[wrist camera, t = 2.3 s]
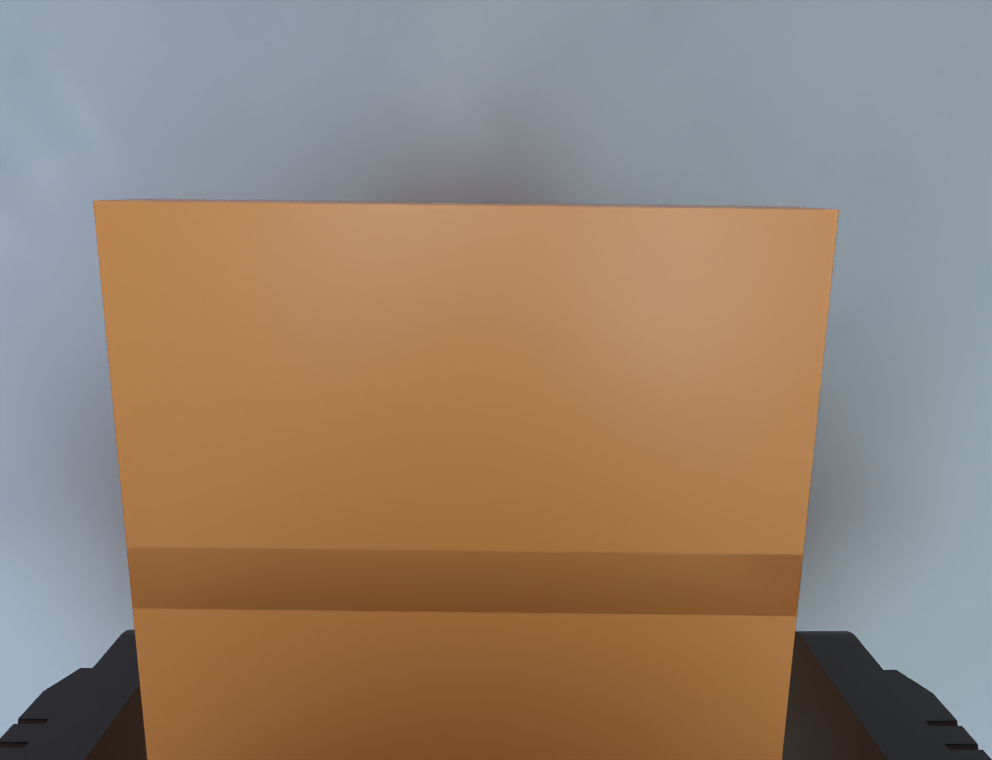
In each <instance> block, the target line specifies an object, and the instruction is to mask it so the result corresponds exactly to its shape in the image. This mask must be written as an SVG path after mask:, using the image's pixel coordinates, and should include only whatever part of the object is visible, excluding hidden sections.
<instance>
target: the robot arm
mask: <svg viewBox="0 0 992 760" xmlns="http://www.w3.org/2000/svg"><path fill="white" fill-rule="evenodd" d="M0 760H147V752H146V741H145V731H144V721H143V710H142V700H141V690H140V679H139V669H138V659H137V648H136V638H135V630H127V631H125V632H124V633H123V634H121V636H120V637H119V638H118V639H117V640H116V641H115V643H114V644H113V645H112V646H111V647H110V648H109V650H108V651H107V652H106V653H105V654H104V655H103V657H102V658H101V659H100V660H99V661H98V663H97V664H96V665H95V666H94V667H93V668H80V669H78V670H77V671H75V672H74V673H72V674H70V675H69V676H67V677H66V678H64V679H62V680H61V681H59V682H58V683H56V684H54V685H53V686H51V687H50V688H48V689H46V690H45V691H43V692H42V693H41V695H40V696H39V697H38V698H37V699H36V700H35V701H34V702H33V703H32V704H31V705H30V707H29V708H28V709H27V710H26V711H25V712H24V713H23V714H22V715H21V716H20V717H19V719H18V724H13V725H12V726H11V727H10V728H9V730H8V731H7V732H6V733H5V734H4V735H3V736H2V737H1V738H0ZM782 760H991V758H990V757H989V756H988V755H987V754H986V753H985V752H984V751H983V750H979V749H978V744H977V743H976V742H975V740H974V739H973V738H972V737H971V736H970V735H969V734H968V733H967V731H966V730H965V729H964V728H963V727H962V726H958V725H957V720H956V719H955V718H954V717H953V716H952V714H951V713H950V712H949V711H948V710H947V709H946V708H945V707H944V705H943V704H942V703H941V702H940V701H939V700H938V699H937V698H936V696H935V695H934V694H933V693H932V692H930V691H928V690H927V689H925V688H924V687H922V686H921V685H919V684H917V683H916V682H914V681H913V680H911V679H910V678H908V677H906V676H905V675H903V674H902V673H900V672H899V671H897V670H883V669H882V668H881V667H880V665H879V664H878V663H877V662H876V661H875V659H874V658H873V657H872V656H871V654H870V653H869V652H868V651H867V650H866V648H865V647H864V646H863V645H862V644H861V642H860V641H859V640H858V639H857V638H856V636H855V635H854V634H853V633H851V632H848V631H795V637H794V647H793V656H792V666H791V676H790V685H789V695H788V705H787V714H786V724H785V733H784V743H783V753H782Z"/></svg>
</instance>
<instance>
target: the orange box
mask: <svg viewBox="0 0 992 760" xmlns="http://www.w3.org/2000/svg"><path fill="white" fill-rule="evenodd" d="M93 203H94V214H95V224H96V234H97V245H98V255H99V265H100V276H101V286H102V296H103V307H104V317H105V328H106V338H107V348H108V359H109V369H110V379H111V390H112V400H113V410H114V421H115V431H116V441H117V452H118V462H119V472H120V483H121V493H122V503H123V514H124V524H125V534H126V545H127V555H128V565H129V576H130V586H131V596H132V607H133V617H134V627H135V638H136V648H137V659H138V669H139V679H140V690H141V700H142V710H143V721H144V731H145V741H146V752H147V760H782V753H783V743H784V733H785V724H786V714H787V705H788V695H789V685H790V676H791V666H792V656H793V647H794V637H795V628H796V618H797V608H798V599H799V589H800V579H801V570H802V560H803V551H804V541H805V531H806V522H807V512H808V502H809V493H810V483H811V474H812V464H813V454H814V445H815V435H816V425H817V416H818V406H819V397H820V387H821V377H822V368H823V358H824V348H825V339H826V329H827V320H828V310H829V300H830V291H831V281H832V271H833V262H834V252H835V243H836V233H837V223H838V214H839V210H835V209H821V208H806V207H768V206H685V205H603V204H520V203H437V202H354V201H272V200H189V199H128V200H100V201H93Z"/></svg>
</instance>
